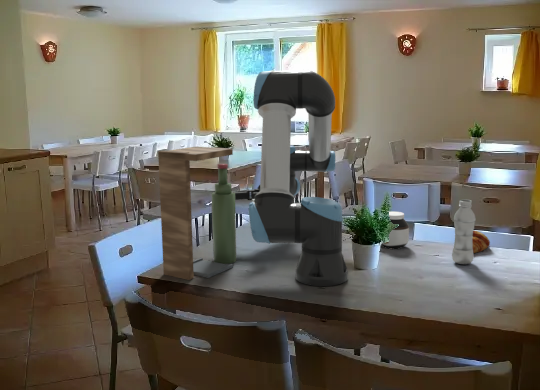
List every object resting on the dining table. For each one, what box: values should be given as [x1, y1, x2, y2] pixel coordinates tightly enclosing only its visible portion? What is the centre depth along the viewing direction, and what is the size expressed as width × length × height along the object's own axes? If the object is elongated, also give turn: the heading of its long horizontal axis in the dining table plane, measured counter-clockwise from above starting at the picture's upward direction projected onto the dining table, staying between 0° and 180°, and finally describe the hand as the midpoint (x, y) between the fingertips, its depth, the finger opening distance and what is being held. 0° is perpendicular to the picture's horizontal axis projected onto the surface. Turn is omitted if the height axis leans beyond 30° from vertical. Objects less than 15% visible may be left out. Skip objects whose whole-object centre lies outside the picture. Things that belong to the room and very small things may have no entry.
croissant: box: [472, 229, 491, 254], centre depth 201 cm, size 21×10×8 cm, turn 145°
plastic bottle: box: [451, 199, 476, 265], centre depth 183 cm, size 6×7×20 cm
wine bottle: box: [211, 163, 238, 265], centre depth 188 cm, size 7×7×31 cm
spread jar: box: [380, 211, 410, 250], centre depth 204 cm, size 12×11×12 cm
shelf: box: [157, 146, 234, 281], centre depth 177 cm, size 17×14×37 cm
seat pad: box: [193, 257, 234, 279], centre depth 182 cm, size 12×13×1 cm
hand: (235, 202), depth 193 cm, fingers open, 13 cm apart
